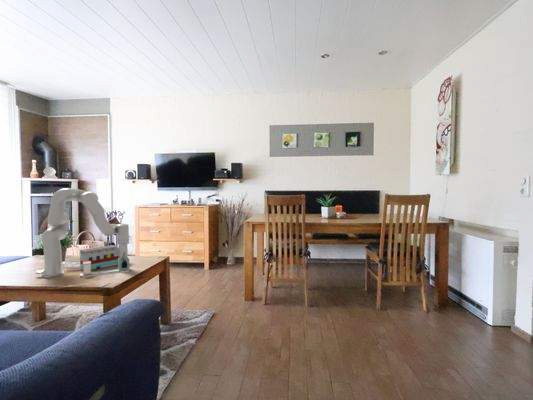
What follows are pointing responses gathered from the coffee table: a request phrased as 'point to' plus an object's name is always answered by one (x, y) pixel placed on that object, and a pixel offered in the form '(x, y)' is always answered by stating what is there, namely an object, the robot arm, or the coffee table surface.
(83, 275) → the shelf board
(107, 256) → the toy vehicle
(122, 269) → the teal carton
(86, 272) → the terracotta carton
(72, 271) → the coffee table surface
